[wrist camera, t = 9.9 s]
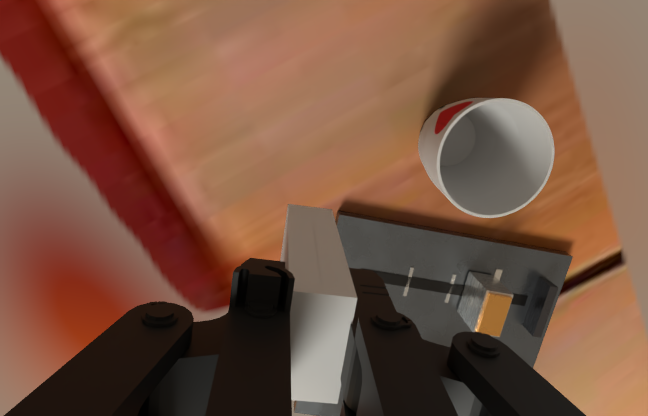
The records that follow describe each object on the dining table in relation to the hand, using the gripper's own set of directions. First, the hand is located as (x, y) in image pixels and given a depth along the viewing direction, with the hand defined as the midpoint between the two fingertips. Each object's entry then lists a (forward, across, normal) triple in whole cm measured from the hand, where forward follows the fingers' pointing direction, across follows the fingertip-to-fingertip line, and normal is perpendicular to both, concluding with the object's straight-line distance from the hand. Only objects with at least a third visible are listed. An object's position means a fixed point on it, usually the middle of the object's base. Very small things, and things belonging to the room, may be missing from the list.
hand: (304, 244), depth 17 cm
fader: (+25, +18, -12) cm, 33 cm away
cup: (+26, +13, +1) cm, 30 cm away
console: (+26, +15, -17) cm, 34 cm away
